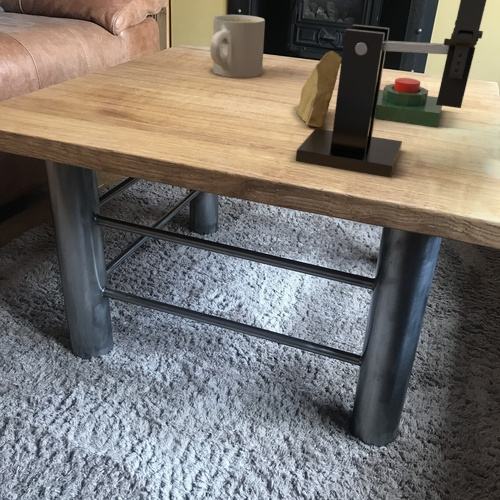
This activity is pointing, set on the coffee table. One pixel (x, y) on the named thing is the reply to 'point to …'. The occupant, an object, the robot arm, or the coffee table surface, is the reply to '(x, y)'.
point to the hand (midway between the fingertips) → (449, 99)
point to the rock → (319, 90)
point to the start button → (407, 85)
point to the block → (408, 107)
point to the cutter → (355, 111)
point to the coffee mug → (237, 45)
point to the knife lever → (415, 47)
